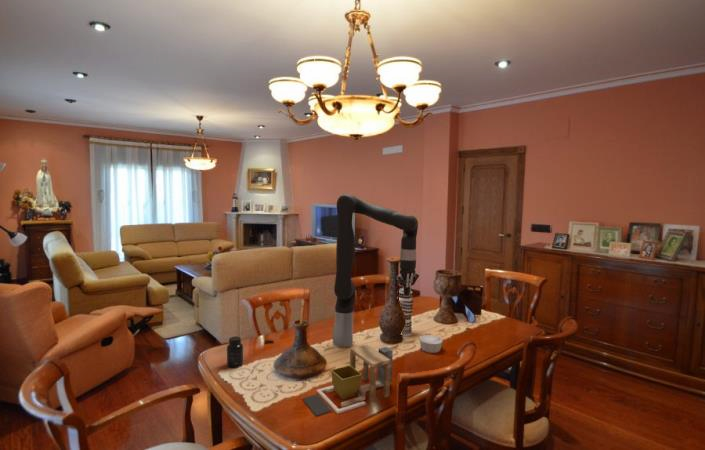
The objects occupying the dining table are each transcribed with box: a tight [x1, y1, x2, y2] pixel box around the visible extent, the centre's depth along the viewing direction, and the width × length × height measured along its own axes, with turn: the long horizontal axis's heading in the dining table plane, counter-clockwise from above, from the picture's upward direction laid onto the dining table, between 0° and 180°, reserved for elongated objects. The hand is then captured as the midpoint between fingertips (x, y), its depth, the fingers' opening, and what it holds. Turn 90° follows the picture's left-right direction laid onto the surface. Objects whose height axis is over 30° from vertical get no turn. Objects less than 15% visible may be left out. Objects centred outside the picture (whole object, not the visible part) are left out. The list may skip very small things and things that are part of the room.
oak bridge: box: [349, 344, 391, 403], centre depth 145 cm, size 8×16×14 cm, turn 31°
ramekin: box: [419, 334, 443, 354], centre depth 185 cm, size 11×11×5 cm
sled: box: [326, 346, 394, 408], centre depth 144 cm, size 25×12×14 cm, turn 121°
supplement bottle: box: [226, 336, 244, 369], centre depth 163 cm, size 7×7×12 cm
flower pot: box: [330, 364, 363, 400], centre depth 141 cm, size 9×9×9 cm
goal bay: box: [316, 384, 366, 415], centre depth 139 cm, size 12×16×1 cm
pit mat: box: [301, 393, 333, 417], centre depth 134 cm, size 6×12×1 cm, turn 31°
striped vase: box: [399, 287, 414, 337], centre depth 204 cm, size 9×9×25 cm
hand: (406, 294), depth 176 cm, fingers closed
